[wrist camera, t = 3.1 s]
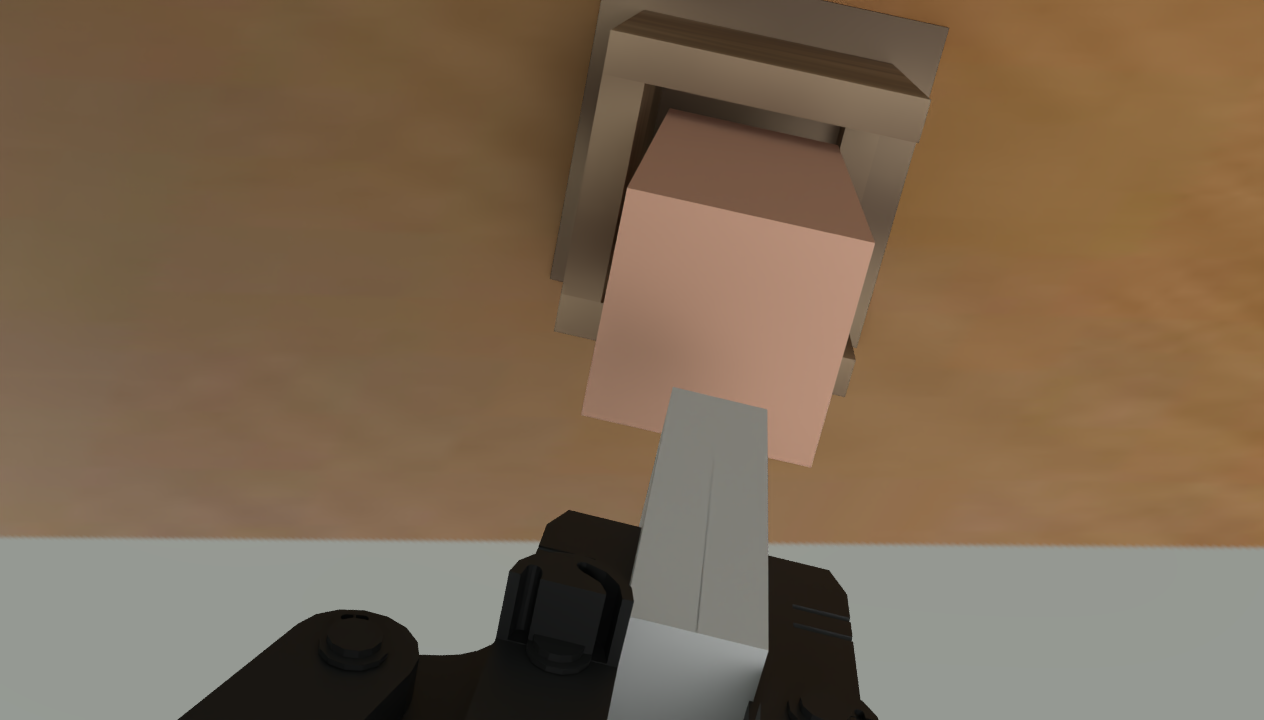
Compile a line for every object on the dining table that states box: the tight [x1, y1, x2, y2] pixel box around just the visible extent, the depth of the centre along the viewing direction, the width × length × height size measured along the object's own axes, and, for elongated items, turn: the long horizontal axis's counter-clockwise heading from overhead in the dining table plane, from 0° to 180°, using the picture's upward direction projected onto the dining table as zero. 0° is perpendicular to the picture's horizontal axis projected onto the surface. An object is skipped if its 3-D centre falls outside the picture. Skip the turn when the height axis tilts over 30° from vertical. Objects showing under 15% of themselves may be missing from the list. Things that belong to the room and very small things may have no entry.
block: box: [581, 108, 875, 467], centre depth 29 cm, size 5×5×12 cm
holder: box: [550, 0, 949, 397], centre depth 38 cm, size 12×12×10 cm
